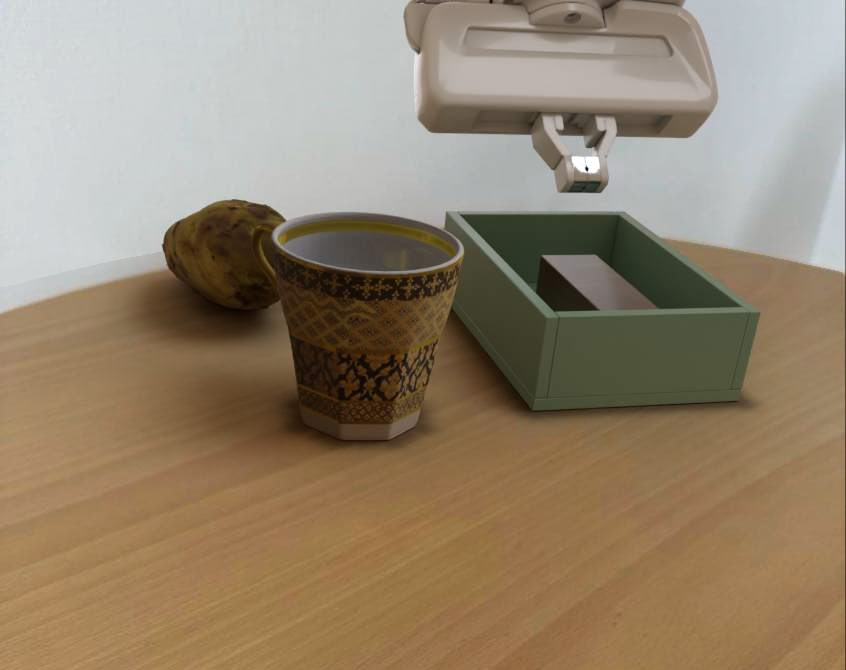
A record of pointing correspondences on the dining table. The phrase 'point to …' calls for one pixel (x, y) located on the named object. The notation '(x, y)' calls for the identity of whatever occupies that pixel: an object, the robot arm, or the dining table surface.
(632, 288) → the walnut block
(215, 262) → the potato
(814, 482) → the dining table surface
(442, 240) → the ceramic cup
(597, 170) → the robot arm
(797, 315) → the dining table surface
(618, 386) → the bin
